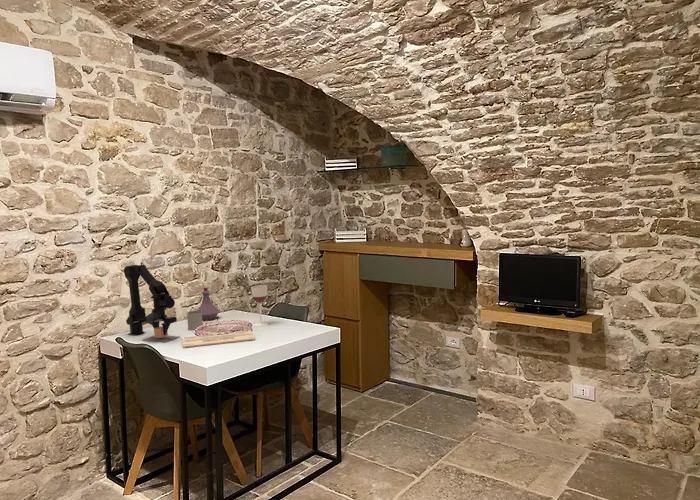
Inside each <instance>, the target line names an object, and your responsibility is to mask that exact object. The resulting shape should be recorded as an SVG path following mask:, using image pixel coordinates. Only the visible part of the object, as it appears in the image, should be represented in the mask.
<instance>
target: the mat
mask: <svg viewBox="0 0 700 500" xmlns="http://www.w3.org/2000/svg"><path fill="white" fill-rule="evenodd" d="M176 339H180V336H175V335H168V336H166V337H163V338H157V337H154V335H152V336H150V337H147V338H143V339H142V341H145V342H156V343H168V342H171V341H173V340H176Z"/></svg>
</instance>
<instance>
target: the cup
mask: <svg viewBox="0 0 700 500" xmlns="http://www.w3.org/2000/svg"><path fill="white" fill-rule="evenodd" d="M186 314H187V317H186V318H187V330H188V331H194V330H195V329H196V328H197V327H199V326H201V325H203V320H202V311H197V310H191V311H187V313H186ZM203 326H204V325H203ZM195 331H196V330H195Z"/></svg>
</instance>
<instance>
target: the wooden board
mask: <svg viewBox="0 0 700 500" xmlns="http://www.w3.org/2000/svg"><path fill="white" fill-rule="evenodd" d="M234 332H235V333H230V332H225V333H226V334H221V333H216V334H217V335H212V334H202V335H195V336H194V335H193V336H187V337H186V336H185V337H181V341H182V348H183V349H187V348H195V347H204V346H214V345H221V344H222V345H223V344H233V343H239V342H240V343H241V342H248V341H249V342H251V341H255V340H256V337H255V335H254V333H253V331H252V330H251V329H249V330H241V331H234Z"/></svg>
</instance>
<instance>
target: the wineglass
mask: <svg viewBox="0 0 700 500" xmlns="http://www.w3.org/2000/svg"><path fill="white" fill-rule="evenodd" d="M250 289H251V291H250V292H251V295H252V296H251V297H252V299H253V300H254V302H256V303H258V304H259V322H256V323H254V324H253V326H255V327H264V326H268V325H269V323H268V322H263V319H262V303H263V302H265V300H266V299H267V296H268V285H266V284H265V285H264V284H259V285H257V284H256V285H252V286H251V287H250Z"/></svg>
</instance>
